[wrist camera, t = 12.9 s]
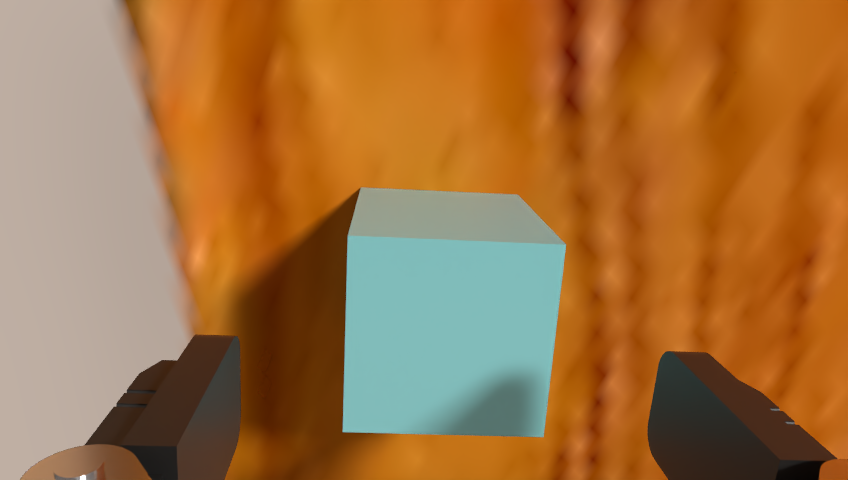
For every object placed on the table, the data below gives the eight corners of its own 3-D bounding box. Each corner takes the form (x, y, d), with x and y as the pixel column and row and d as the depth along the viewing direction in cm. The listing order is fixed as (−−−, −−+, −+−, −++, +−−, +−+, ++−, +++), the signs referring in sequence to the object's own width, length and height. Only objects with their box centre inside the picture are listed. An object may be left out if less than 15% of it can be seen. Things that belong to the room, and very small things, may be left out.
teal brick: (517, 194, 21) (565, 244, 15) (503, 338, 22) (543, 437, 16) (360, 187, 20) (347, 235, 14) (356, 333, 22) (343, 432, 16)
